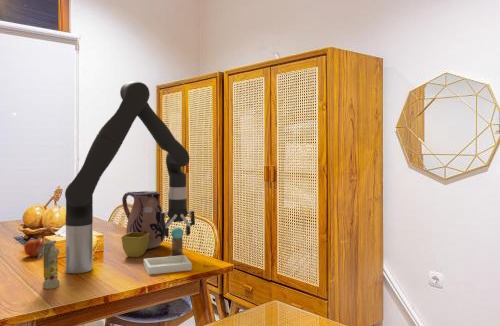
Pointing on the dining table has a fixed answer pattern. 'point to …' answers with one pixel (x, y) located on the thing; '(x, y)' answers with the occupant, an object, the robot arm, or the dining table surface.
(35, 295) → the dining table surface
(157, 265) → the tray
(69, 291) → the dining table surface
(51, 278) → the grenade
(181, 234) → the ball
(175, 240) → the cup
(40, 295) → the dining table surface
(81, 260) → the robot arm
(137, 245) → the flower pot
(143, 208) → the ceramic pitcher
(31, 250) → the fruit
